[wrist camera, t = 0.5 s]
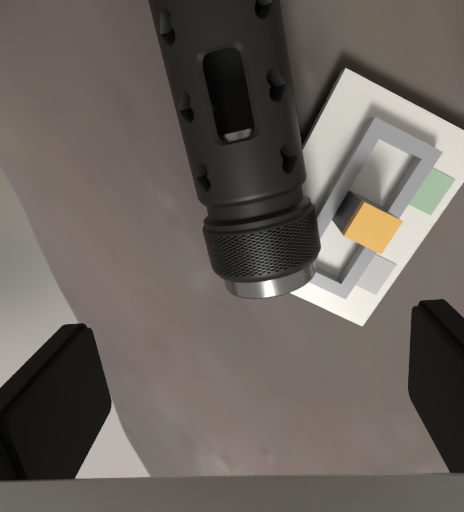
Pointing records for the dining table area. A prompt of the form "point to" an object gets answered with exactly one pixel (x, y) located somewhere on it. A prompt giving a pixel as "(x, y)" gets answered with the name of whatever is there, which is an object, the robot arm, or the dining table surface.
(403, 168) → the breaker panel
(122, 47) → the dining table surface
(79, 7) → the dining table surface
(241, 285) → the muzzle brake
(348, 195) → the breaker lever
